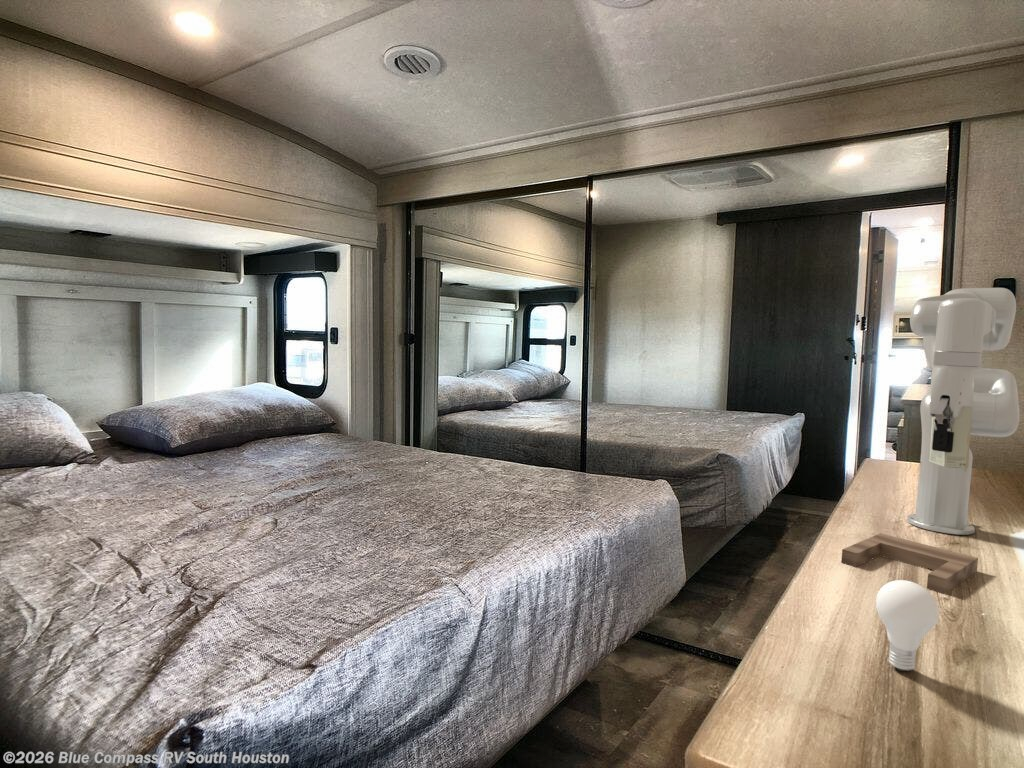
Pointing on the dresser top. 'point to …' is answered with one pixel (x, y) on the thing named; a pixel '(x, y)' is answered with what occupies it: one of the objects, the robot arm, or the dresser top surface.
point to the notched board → (915, 559)
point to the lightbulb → (905, 619)
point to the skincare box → (955, 442)
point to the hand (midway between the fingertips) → (948, 448)
